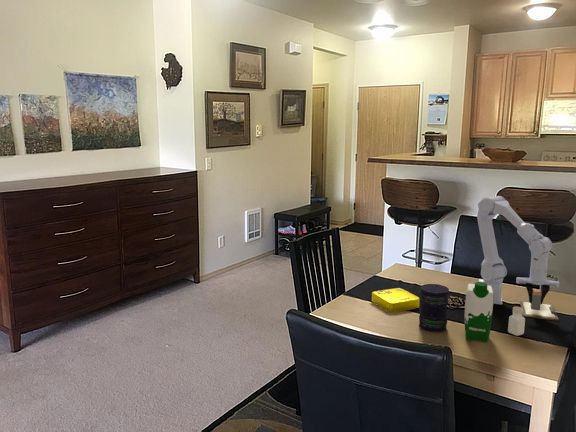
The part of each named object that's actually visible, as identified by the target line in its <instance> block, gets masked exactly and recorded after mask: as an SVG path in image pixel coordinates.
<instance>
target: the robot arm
mask: <svg viewBox="0 0 576 432" xmlns="http://www.w3.org/2000/svg"><path fill="white" fill-rule="evenodd" d="M477 209H478V211H477V215H476V219H477V224H478V230H479V236H480V243H481V246H482V252H483V257H484V259H483V260H482V262H481V264H480V266H481V269H480V276H481V278H479V279H478V282H482V283H486V284H487V285H488V286H491V287H492V290H493V305H494V304H495V305H500V306H501V305H503V299H502V290H503V281H504V278H505V277H506V276H507V274H508V269H507V268H506V266H505V264H504V260H503V259H502V258H501V257H500V256H499V251H498V246H497V239H496V237H495V235H496V234H495V231H494V225H493V219H494V218H495V217H496V215H501V216H503V217H504V218H505V219H506V220H507V221H508V222H510V223H511V224H512V225H513V226H514V227H515V228H516V229H517V231H516V232H517V234H518V235H519V237H521V238H522V239H523V240H524V241H525V242H526V243H527V244H528V249H529V251H530V256H531V257H530V267H529V268H530V269H529V277H518V276H517V277H516V278H515V279H516V284H524V286H525V288H526V290H527V294H528V302H529V303H532V291H533V290H534V285H535V286H540V290H541V292H542V296H541V304H543V303H544V300H545V298H546V295H547V294H548V293H549V292H550V289H551V288H550V287H554V288H557V289H559V288H560V282H559V280H551V279H547V277H548V276H547V275H548V267H549V266H548V265H549V255H550V253H549V252H550V251H552V249H553V246H554V245H553V242H552V240H551V239H550V238H549V237H546V236H544V235H543V234H542V233H540V232H539V231H538V230H537V229H536V228H535V225H534V224H531V223H530V222H525V221H524V220H523V219H522V218H521V217H520V216H519V215H518V213H517V212H516V211H515V210H514V209H513V208H512V207H511V206H510V202H509V201H508V200H507V199H505V197H503V196H501V195H495V196H489V197H483V198H482V199H481V200H480V201H479V202H478V203H477Z"/></svg>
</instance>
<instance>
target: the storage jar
mask: <svg viewBox="0 0 576 432" xmlns="http://www.w3.org/2000/svg"><path fill="white" fill-rule="evenodd" d="M449 292H450V289H449V287H447V286H445V285H442V284H438V283H437V284H436V283H426V284H423V285H421V286H420V297H419V298H420V301H419V303H420V311H419V315H418V316H419V317H418V321H419V324H418V327H419V329H421V330H423V331H424V332H428V333H433V334H434V333H435V334H436V333H439V334H440V333H444V332H445V331H447V324H448V314H447V312H448V305H449V301H450V300H449V297H450V295H449Z"/></svg>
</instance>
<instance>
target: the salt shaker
mask: <svg viewBox="0 0 576 432" xmlns="http://www.w3.org/2000/svg"><path fill="white" fill-rule="evenodd" d="M525 323H526V318H525V317H524V316H523V308H521V306H513V307H512V315H510V316H509V317H508V325H507V326H508V327H507V333H509V334H511V335H514V336H517V337H518V336H522V335H524V333H525V327H526V326H525V325H526V324H525Z"/></svg>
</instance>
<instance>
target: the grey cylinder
mask: <svg viewBox="0 0 576 432" xmlns="http://www.w3.org/2000/svg"><path fill="white" fill-rule="evenodd" d="M541 296H542V292H541V289H533V291H532V303H531V305H530V307H531V309H533V310H540V304H541Z"/></svg>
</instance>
